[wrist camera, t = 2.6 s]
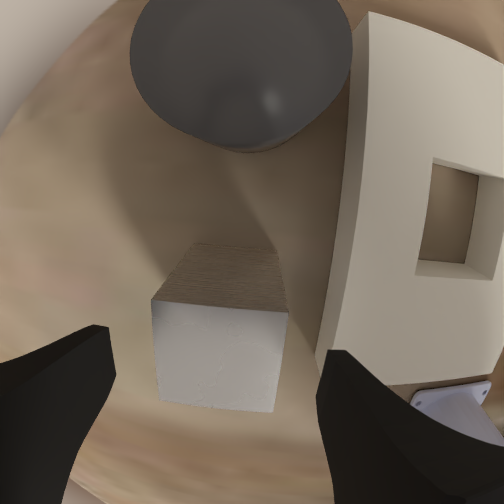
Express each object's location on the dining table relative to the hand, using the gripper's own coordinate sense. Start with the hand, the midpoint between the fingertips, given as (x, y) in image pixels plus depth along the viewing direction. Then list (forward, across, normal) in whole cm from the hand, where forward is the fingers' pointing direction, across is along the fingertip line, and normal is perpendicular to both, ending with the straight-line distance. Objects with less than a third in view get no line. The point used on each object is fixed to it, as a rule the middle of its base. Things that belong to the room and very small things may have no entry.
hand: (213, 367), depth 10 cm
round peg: (+7, 0, -10) cm, 12 cm away
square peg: (+7, 0, 0) cm, 7 cm away
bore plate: (+7, -11, -5) cm, 14 cm away
